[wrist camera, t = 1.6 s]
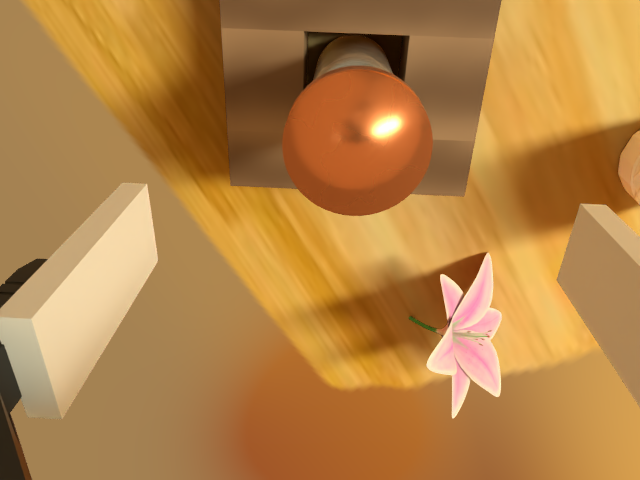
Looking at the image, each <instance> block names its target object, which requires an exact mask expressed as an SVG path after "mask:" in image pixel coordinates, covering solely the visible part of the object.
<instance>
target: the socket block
mask: <svg viewBox="0 0 640 480" xmlns="http://www.w3.org/2000/svg"><path fill="white" fill-rule="evenodd" d="M219 1H220V18H221V35H222V51H223V68H224V84H225V101H226V117H227V134H228V151H229V167H230V184H231V186H249V187H271V188H292V189H298V188H297V187H296V186H295V184H294V183H293V181H292V180H291V178H290V176H289V174H288V172H287V169H286V166H285V163H284V158H283V151H282V139H283V132H284V127H285V124H286V121H287V118H288V115H289V112H290V110H291V108H292V106H293V104H294V102H295V100H296V99H297V97H298V96H299V94H300V93H301V92H302V91H303V90H304V89H305V87H306V86H307V67H308V31H309V32H334V33H359V34H384V35H402V42H401V52H400V61H399V71H398V77H399V78H400V79H401V80H403V81H404V82H405V83H406V84H407V85H408V86H409V87H410V88H411V89H412V90H413V91H414V92H415V94H416V95H417V96H418V98H419V99H420V101H421V103H422V105H423V107H424V109H425V111H426V113H427V116H428V118H429V121H430V124H431V129H432V136H433V148H432V155H431V160H430V163H429V166H428V169H427V171H426V173H425V175H424V177H423V179H422V180H421V182H420V183H419V185H418V186H417V187H416V188H415V190H414V191H413V192H412V193H411V194H421V195H442V196H465V190H466V185H467V180H468V175H469V169H470V164H471V159H472V153H473V148H474V143H475V137H476V132H477V127H478V122H479V116H480V111H481V106H482V100H483V95H484V90H485V84H486V79H487V74H488V68H489V63H490V58H491V53H492V47H493V42H494V37H495V31H496V26H497V21H498V15H499V10H500V5H501V0H219Z"/></svg>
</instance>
